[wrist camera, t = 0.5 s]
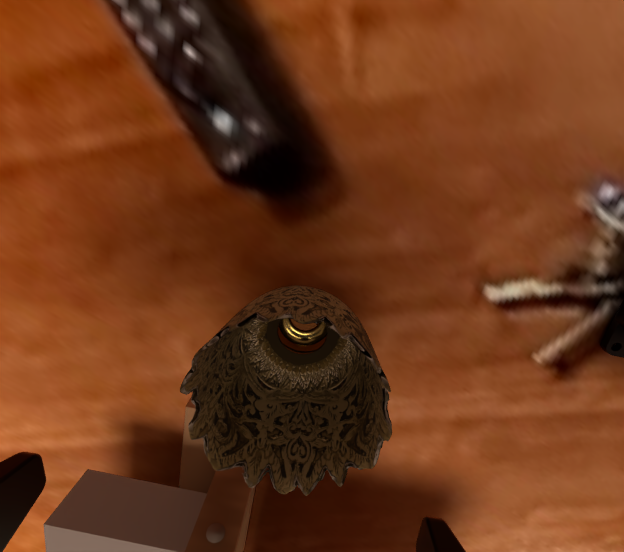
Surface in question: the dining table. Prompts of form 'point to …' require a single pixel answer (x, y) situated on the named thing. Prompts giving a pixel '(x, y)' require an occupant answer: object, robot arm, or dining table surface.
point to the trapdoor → (122, 516)
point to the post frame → (215, 498)
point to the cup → (290, 392)
